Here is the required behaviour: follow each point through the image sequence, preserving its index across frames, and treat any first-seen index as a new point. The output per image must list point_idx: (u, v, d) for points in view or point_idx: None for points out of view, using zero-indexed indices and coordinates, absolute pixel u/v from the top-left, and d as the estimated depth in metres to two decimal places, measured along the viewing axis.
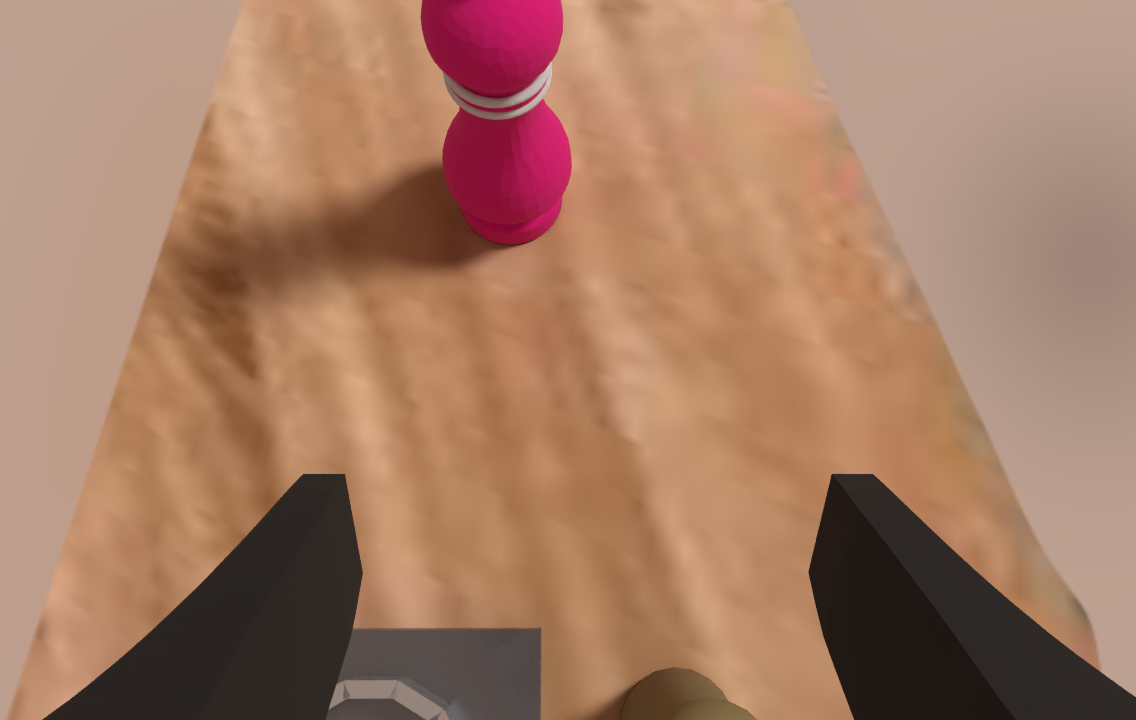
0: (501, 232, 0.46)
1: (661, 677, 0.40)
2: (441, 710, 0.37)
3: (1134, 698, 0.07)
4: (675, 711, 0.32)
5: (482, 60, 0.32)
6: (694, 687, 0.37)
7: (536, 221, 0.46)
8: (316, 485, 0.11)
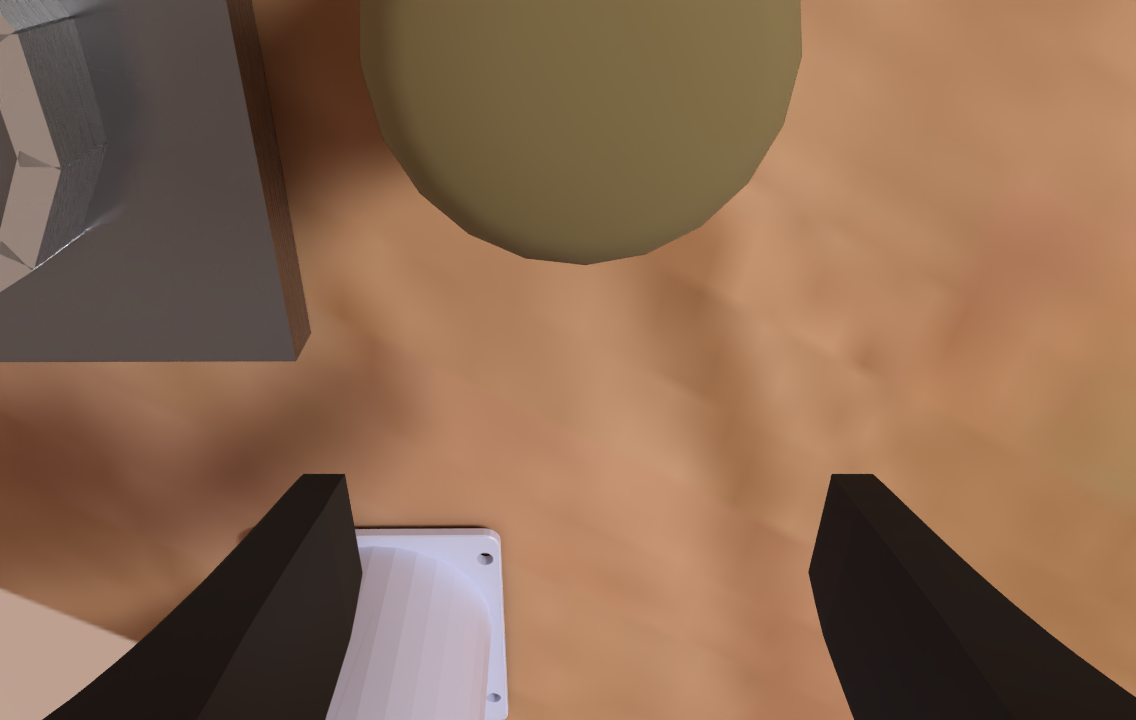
0: None
1: None
2: None
3: (1134, 698, 0.07)
4: None
5: None
6: None
7: None
8: (316, 485, 0.11)
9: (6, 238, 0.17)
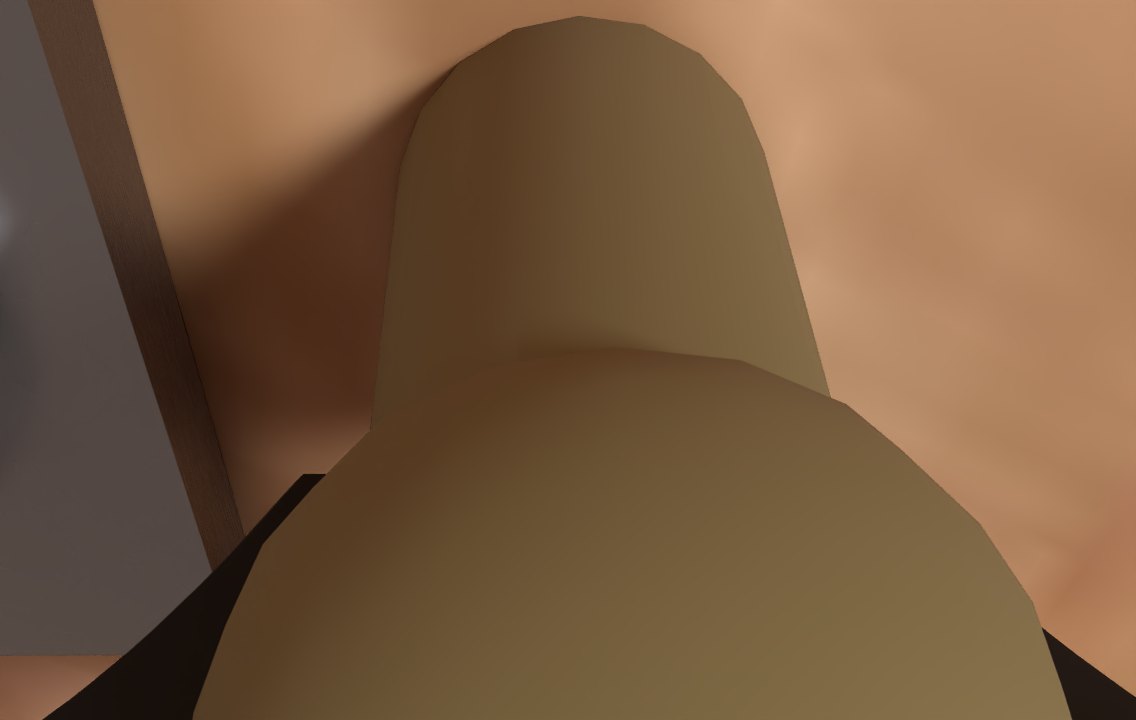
0: None
1: (519, 61, 0.10)
2: None
3: (1134, 698, 0.07)
4: (345, 527, 0.04)
5: None
6: (624, 133, 0.08)
7: None
8: None
9: None
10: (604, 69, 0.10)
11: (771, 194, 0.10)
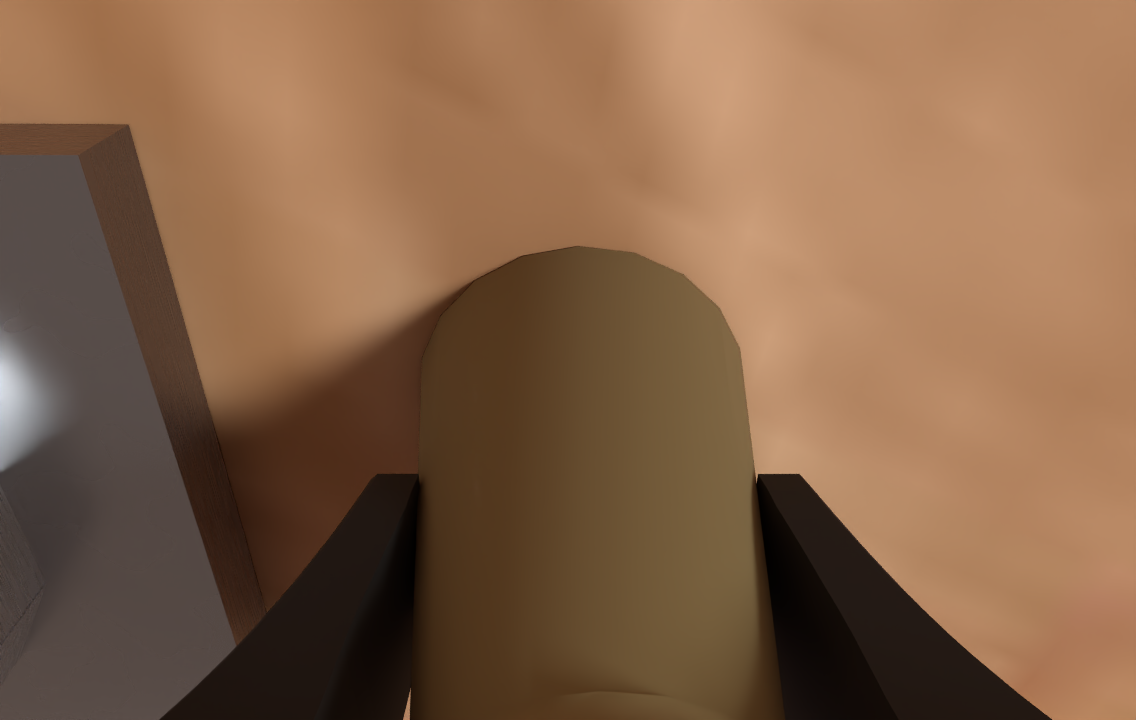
0: None
1: (527, 304, 0.12)
2: None
3: (1022, 698, 0.07)
4: None
5: None
6: (615, 413, 0.10)
7: None
8: (392, 485, 0.11)
9: None
10: (599, 323, 0.12)
11: (741, 422, 0.12)
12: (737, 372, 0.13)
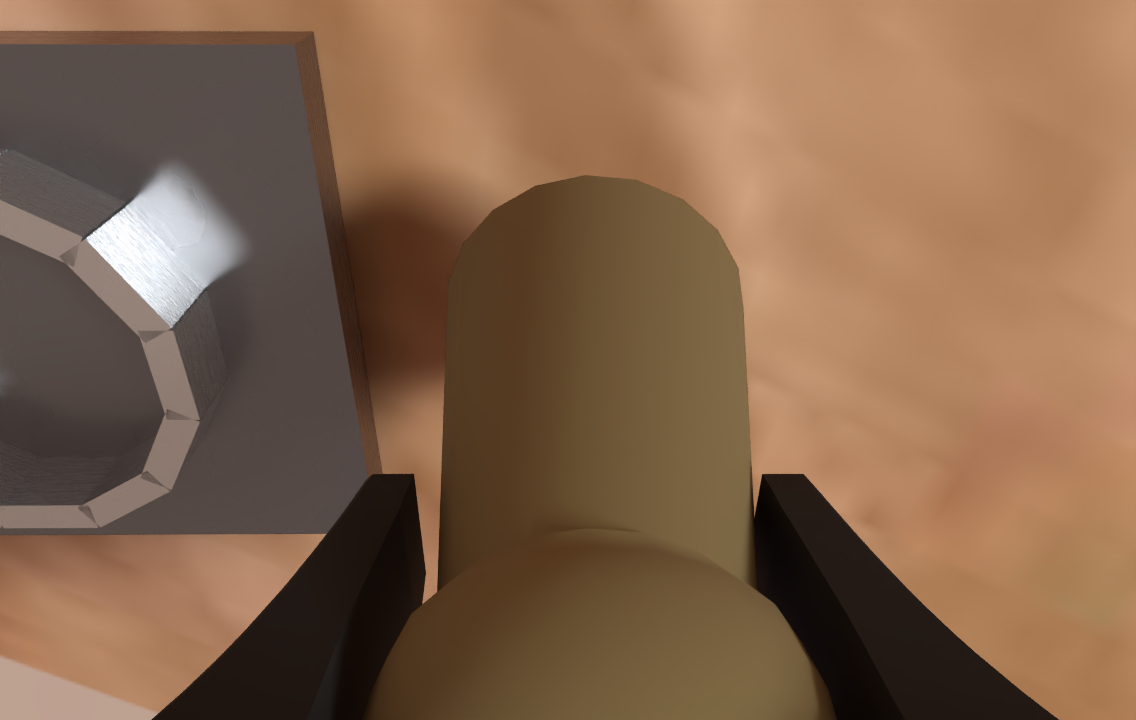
0: None
1: (537, 227, 0.14)
2: (78, 240, 0.17)
3: (1028, 698, 0.07)
4: (438, 667, 0.07)
5: None
6: (612, 316, 0.12)
7: None
8: (388, 485, 0.11)
9: (150, 469, 0.20)
10: (601, 241, 0.13)
11: (732, 329, 0.13)
12: (732, 287, 0.14)
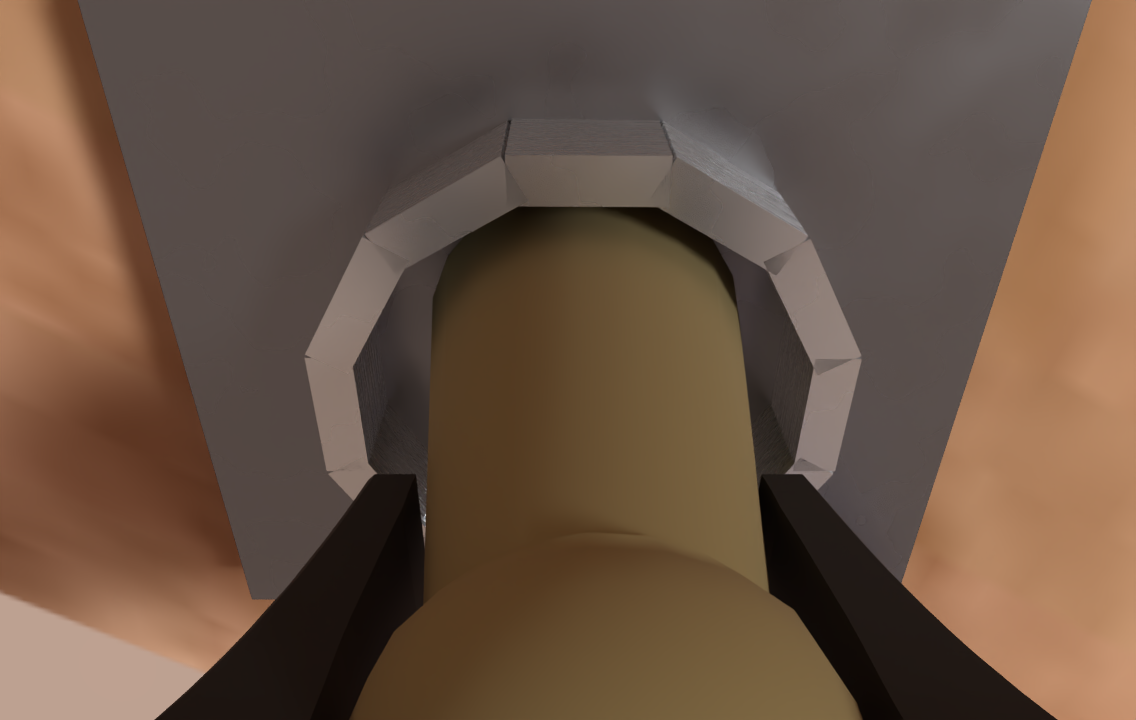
0: None
1: (525, 233, 0.13)
2: (802, 240, 0.13)
3: (1027, 699, 0.07)
4: (424, 684, 0.06)
5: None
6: (606, 316, 0.11)
7: None
8: (390, 485, 0.11)
9: None
10: (592, 244, 0.12)
11: (730, 333, 0.13)
12: (728, 294, 0.14)
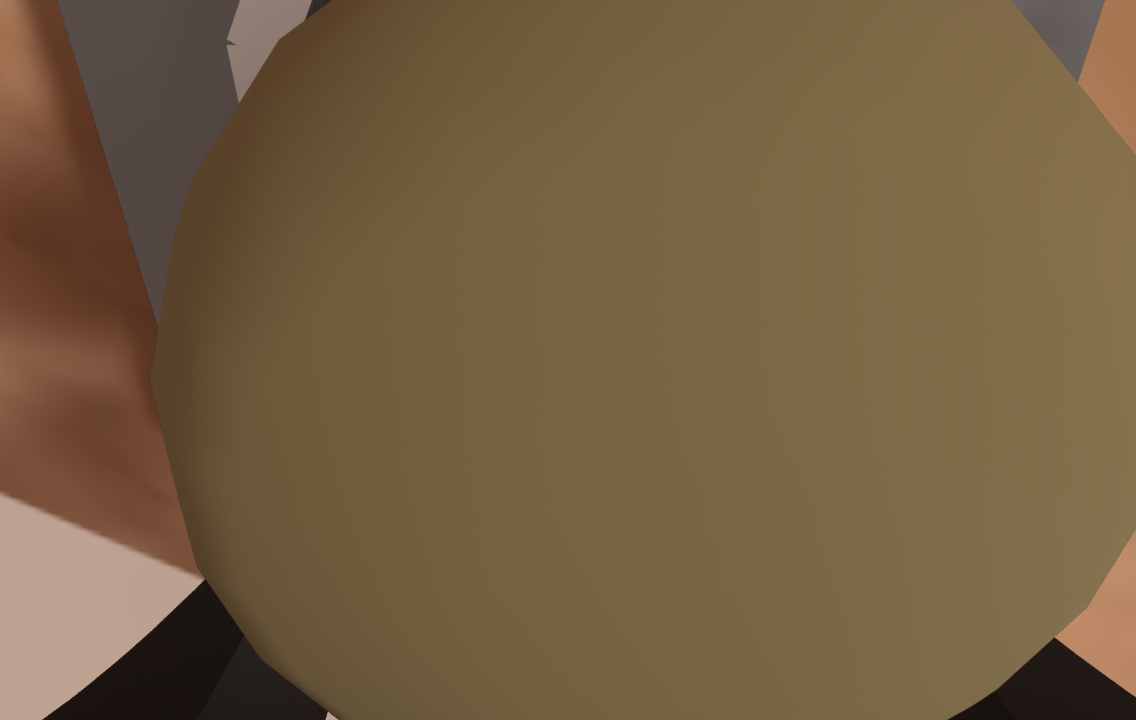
0: None
1: None
2: None
3: (1134, 698, 0.07)
4: (313, 16, 0.03)
5: None
6: None
7: None
8: None
9: None
10: None
11: None
12: None
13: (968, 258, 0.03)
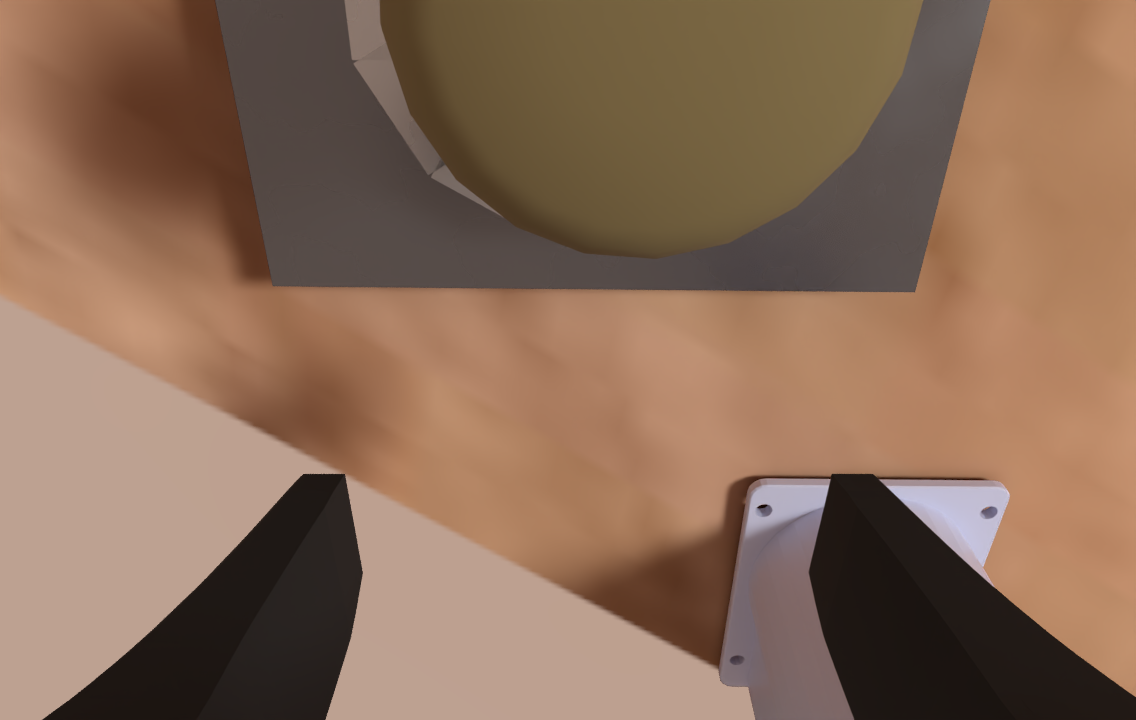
0: None
1: None
2: None
3: (1134, 698, 0.07)
4: None
5: None
6: None
7: None
8: (316, 485, 0.11)
9: None
10: None
11: None
12: None
13: None
